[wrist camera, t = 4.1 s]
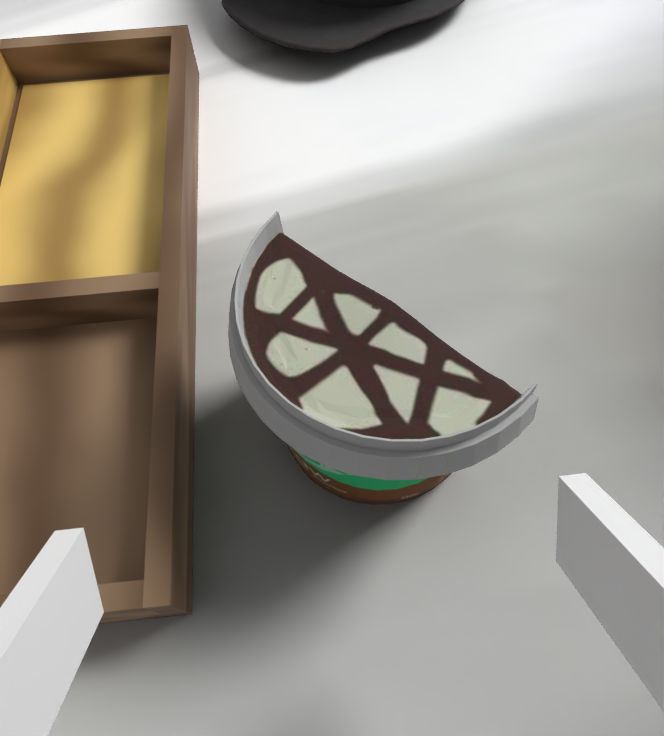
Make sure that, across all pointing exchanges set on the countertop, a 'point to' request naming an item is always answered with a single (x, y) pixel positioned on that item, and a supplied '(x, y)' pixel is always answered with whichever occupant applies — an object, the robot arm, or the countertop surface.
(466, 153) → the countertop surface
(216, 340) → the countertop surface
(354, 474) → the food container
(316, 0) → the casserole
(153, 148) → the walnut divided tray
